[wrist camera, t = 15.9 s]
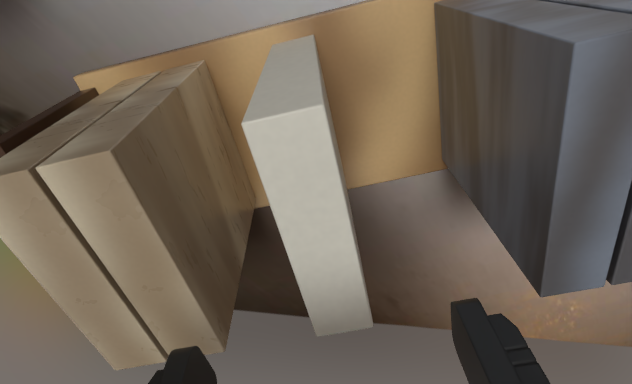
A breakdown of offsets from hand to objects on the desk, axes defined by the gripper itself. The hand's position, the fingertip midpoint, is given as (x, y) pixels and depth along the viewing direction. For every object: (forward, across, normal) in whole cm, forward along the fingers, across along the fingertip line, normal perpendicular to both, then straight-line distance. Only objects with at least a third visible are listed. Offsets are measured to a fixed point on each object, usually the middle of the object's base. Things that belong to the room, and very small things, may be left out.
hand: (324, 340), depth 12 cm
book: (+20, 0, 0) cm, 20 cm away
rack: (+21, -1, 0) cm, 21 cm away
